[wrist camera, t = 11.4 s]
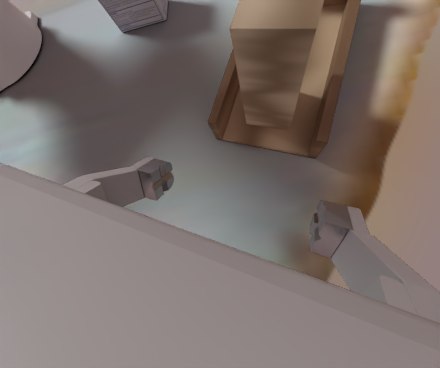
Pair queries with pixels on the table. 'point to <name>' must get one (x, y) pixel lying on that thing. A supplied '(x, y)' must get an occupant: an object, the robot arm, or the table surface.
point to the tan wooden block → (273, 56)
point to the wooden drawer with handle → (308, 97)
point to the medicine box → (135, 12)
